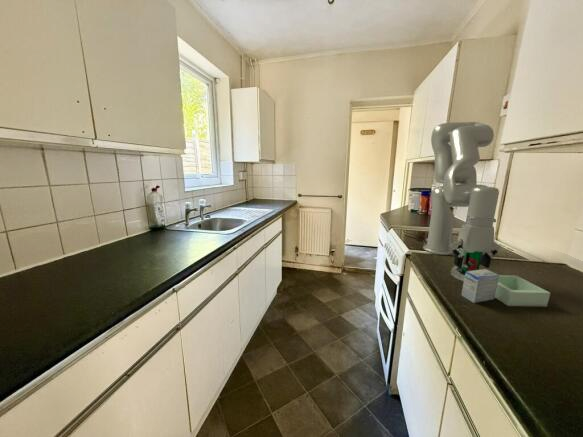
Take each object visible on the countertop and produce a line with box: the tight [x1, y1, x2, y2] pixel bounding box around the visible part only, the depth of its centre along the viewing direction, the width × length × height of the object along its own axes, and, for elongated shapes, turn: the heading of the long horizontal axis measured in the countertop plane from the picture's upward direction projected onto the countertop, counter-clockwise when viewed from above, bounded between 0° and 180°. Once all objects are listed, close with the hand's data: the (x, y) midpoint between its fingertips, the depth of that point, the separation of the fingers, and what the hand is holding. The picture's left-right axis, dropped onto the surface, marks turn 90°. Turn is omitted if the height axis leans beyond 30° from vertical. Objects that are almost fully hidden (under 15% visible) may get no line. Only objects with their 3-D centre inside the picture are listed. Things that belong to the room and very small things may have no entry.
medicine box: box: [461, 268, 500, 303], centre depth 72 cm, size 8×4×9 cm, turn 102°
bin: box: [494, 274, 551, 308], centre depth 73 cm, size 11×11×5 cm
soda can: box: [460, 250, 484, 275], centre depth 85 cm, size 5×5×12 cm
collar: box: [450, 265, 465, 282], centre depth 86 cm, size 11×11×2 cm
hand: (471, 266), depth 85 cm, fingers open, 9 cm apart
